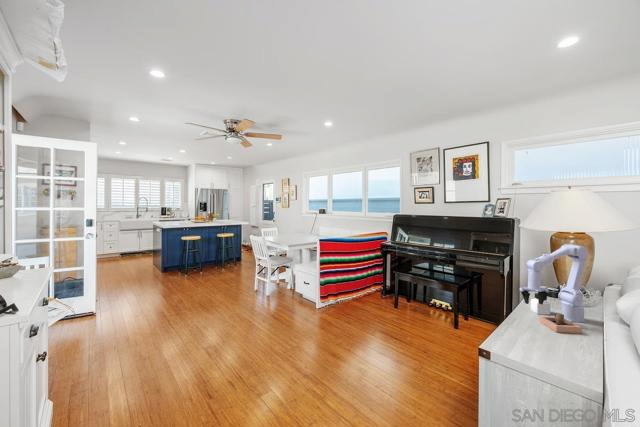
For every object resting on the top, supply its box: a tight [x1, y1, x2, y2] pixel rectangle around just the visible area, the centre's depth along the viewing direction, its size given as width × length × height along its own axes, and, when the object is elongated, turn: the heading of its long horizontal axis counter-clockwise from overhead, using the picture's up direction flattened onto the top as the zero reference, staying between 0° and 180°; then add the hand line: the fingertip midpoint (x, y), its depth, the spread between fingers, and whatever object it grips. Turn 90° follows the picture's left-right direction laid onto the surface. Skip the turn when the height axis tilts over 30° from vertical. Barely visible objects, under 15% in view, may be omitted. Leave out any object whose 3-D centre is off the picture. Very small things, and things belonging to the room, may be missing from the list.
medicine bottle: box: [530, 292, 551, 316], centre depth 166 cm, size 7×7×12 cm
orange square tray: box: [539, 316, 582, 335], centre depth 145 cm, size 12×12×4 cm
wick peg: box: [555, 312, 564, 325], centre depth 145 cm, size 3×3×7 cm
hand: (533, 303), depth 156 cm, fingers open, 7 cm apart
